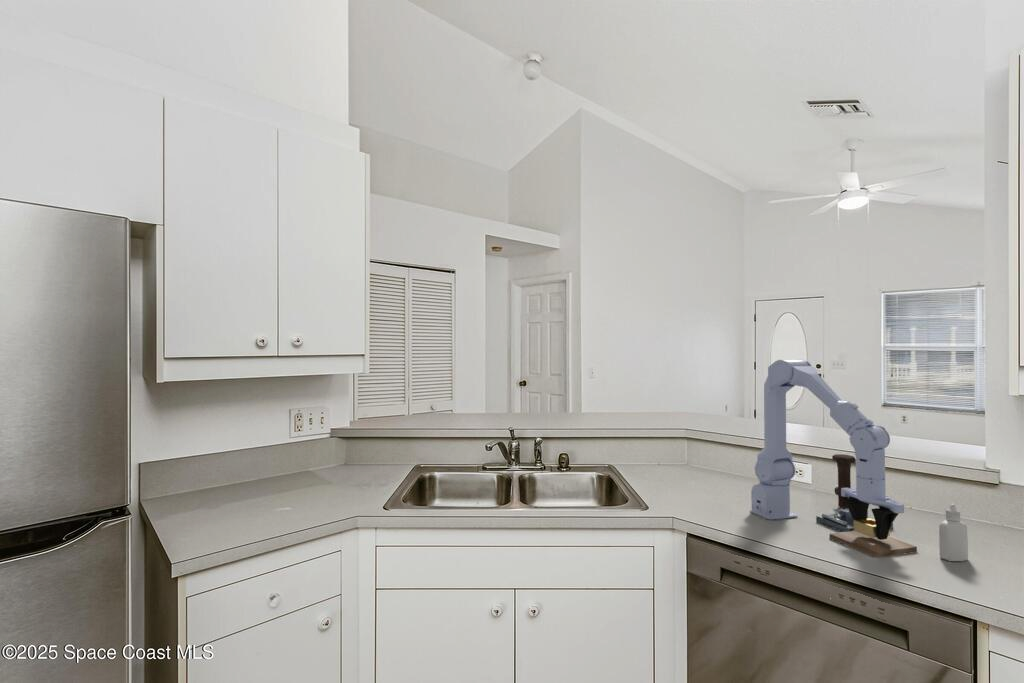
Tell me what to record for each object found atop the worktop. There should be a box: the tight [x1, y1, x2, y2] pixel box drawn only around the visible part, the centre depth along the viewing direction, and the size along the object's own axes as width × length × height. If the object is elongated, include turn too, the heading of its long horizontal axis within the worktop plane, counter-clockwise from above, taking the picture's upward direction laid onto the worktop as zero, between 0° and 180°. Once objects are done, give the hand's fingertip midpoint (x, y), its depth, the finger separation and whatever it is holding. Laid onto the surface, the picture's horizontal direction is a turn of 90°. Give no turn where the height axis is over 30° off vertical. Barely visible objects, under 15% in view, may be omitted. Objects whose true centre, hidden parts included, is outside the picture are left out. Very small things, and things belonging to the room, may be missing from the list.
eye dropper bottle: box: [938, 503, 969, 562], centre depth 114 cm, size 4×6×12 cm
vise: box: [815, 508, 894, 532], centre depth 136 cm, size 14×10×7 cm
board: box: [829, 531, 918, 559], centre depth 122 cm, size 12×12×1 cm
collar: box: [854, 518, 891, 538], centre depth 122 cm, size 5×5×2 cm
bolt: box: [832, 453, 856, 509], centre depth 151 cm, size 6×5×15 cm
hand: (871, 534), depth 122 cm, fingers closed on collar, 5 cm apart
